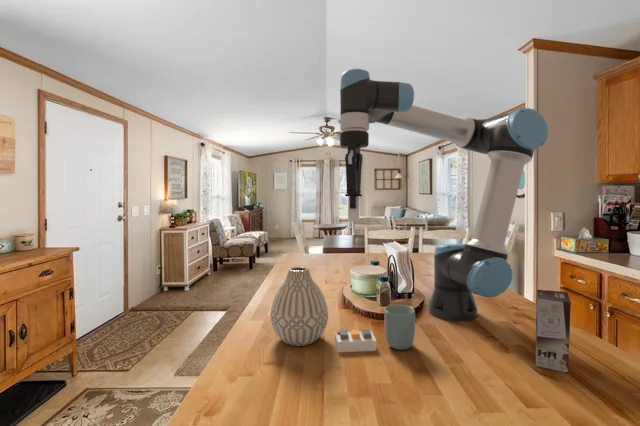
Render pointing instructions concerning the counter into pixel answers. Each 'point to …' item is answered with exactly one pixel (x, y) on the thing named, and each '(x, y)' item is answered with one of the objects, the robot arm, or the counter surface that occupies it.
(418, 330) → the counter surface
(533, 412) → the counter surface
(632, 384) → the counter surface
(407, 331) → the cup
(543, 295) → the coffee box
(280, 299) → the vase
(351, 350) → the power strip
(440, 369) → the counter surface
